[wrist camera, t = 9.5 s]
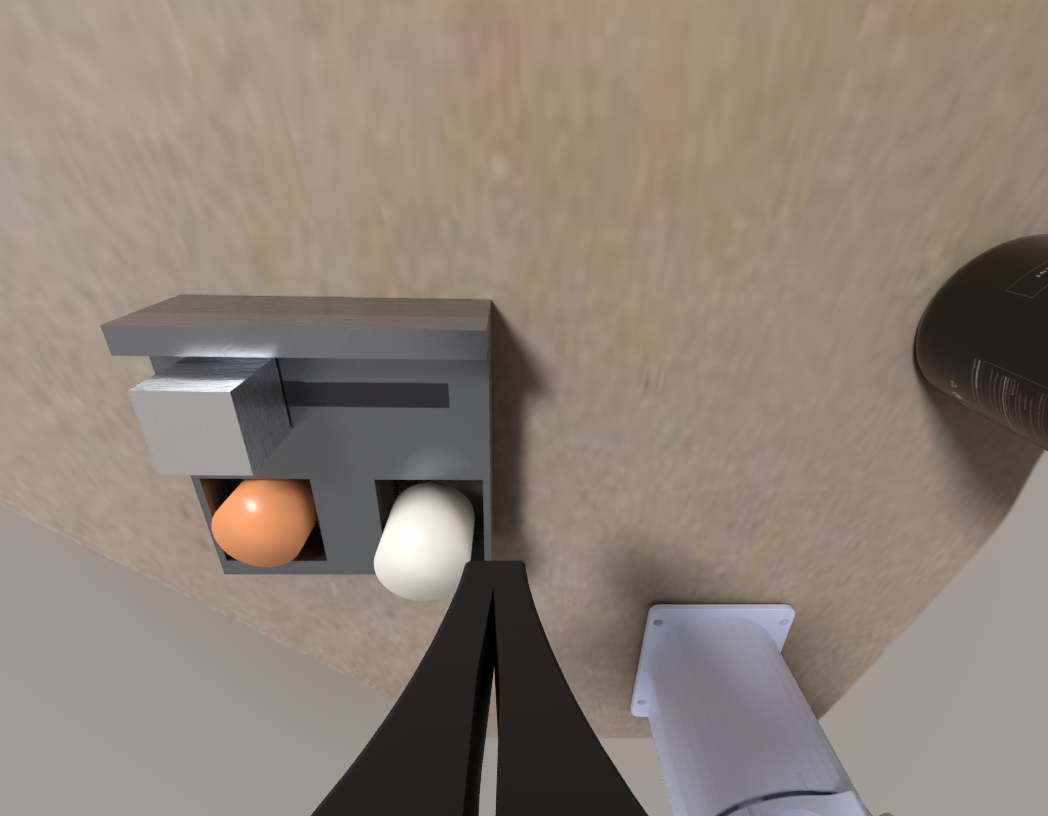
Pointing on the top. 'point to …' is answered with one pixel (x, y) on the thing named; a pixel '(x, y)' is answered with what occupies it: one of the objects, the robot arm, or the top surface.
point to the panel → (344, 404)
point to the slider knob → (212, 415)
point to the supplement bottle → (993, 337)
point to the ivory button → (426, 542)
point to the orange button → (266, 521)
